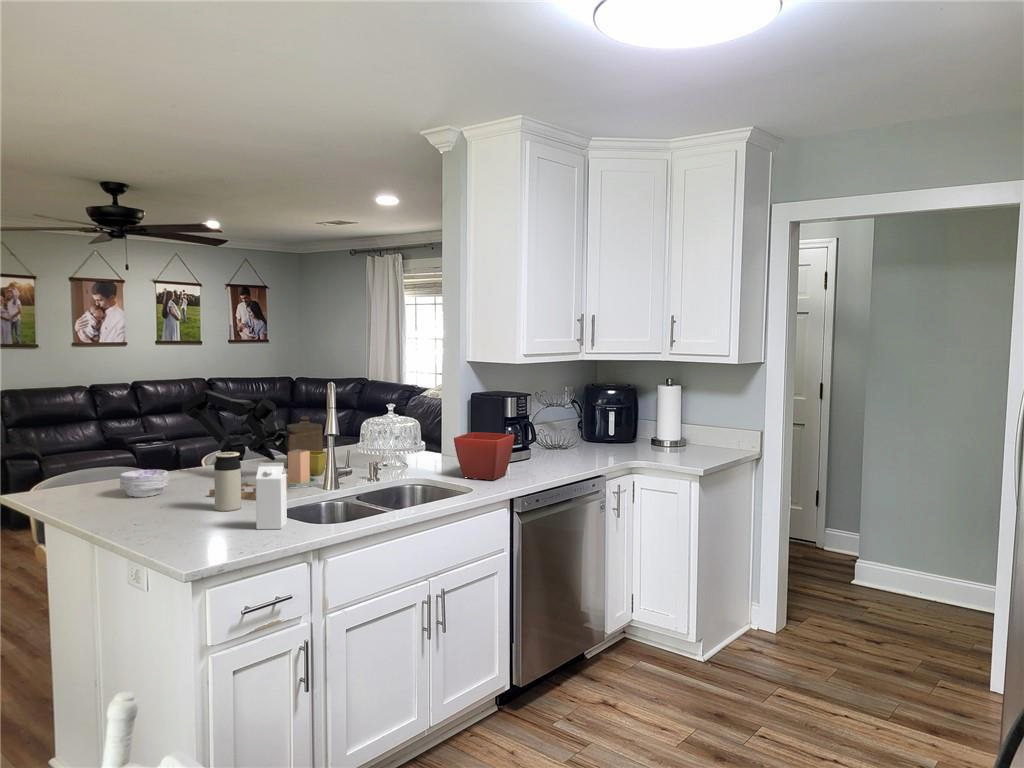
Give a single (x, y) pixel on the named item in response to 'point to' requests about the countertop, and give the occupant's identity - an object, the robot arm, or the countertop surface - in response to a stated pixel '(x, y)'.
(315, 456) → the flower pot
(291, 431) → the wooden container
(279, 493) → the milk carton
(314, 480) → the saucer
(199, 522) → the countertop surface
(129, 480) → the paper bowls
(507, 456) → the plant pot
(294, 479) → the long pot
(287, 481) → the brown flat frame
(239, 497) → the travel mug
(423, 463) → the countertop surface
